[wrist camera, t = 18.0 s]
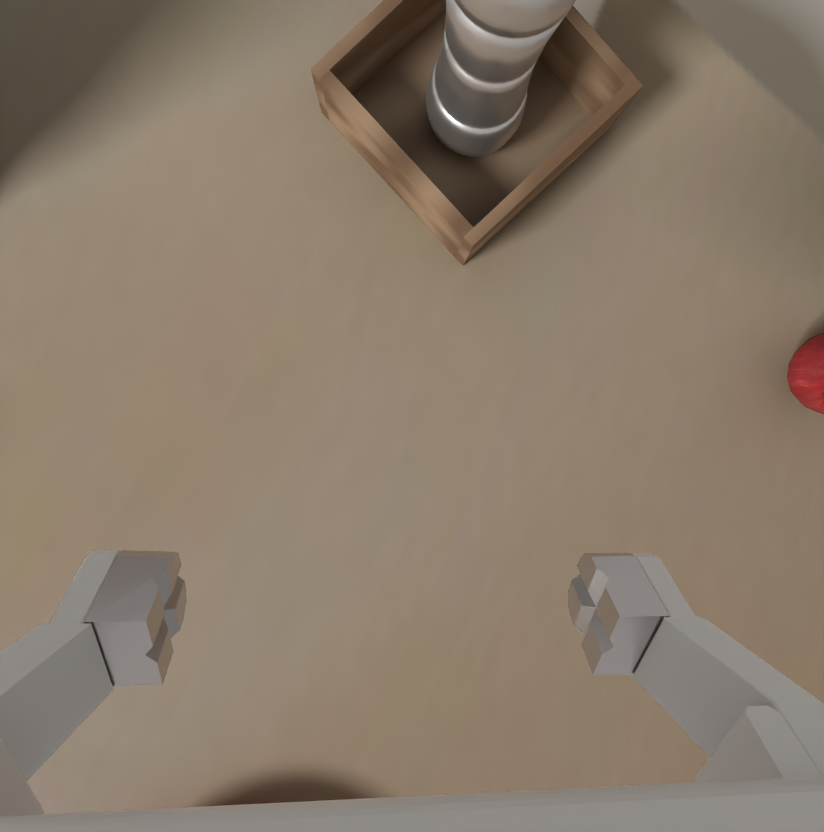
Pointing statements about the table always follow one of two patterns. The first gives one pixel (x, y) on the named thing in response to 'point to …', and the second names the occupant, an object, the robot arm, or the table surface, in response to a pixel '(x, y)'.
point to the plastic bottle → (487, 69)
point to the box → (427, 156)
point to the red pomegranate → (808, 374)
